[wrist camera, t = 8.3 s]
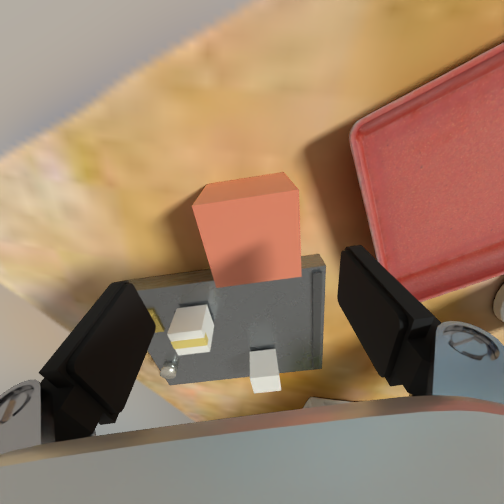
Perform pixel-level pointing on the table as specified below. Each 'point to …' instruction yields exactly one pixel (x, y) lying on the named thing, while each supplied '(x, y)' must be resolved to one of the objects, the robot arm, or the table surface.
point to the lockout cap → (250, 229)
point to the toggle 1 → (191, 330)
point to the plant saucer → (437, 179)
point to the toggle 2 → (264, 371)
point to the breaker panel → (239, 322)
